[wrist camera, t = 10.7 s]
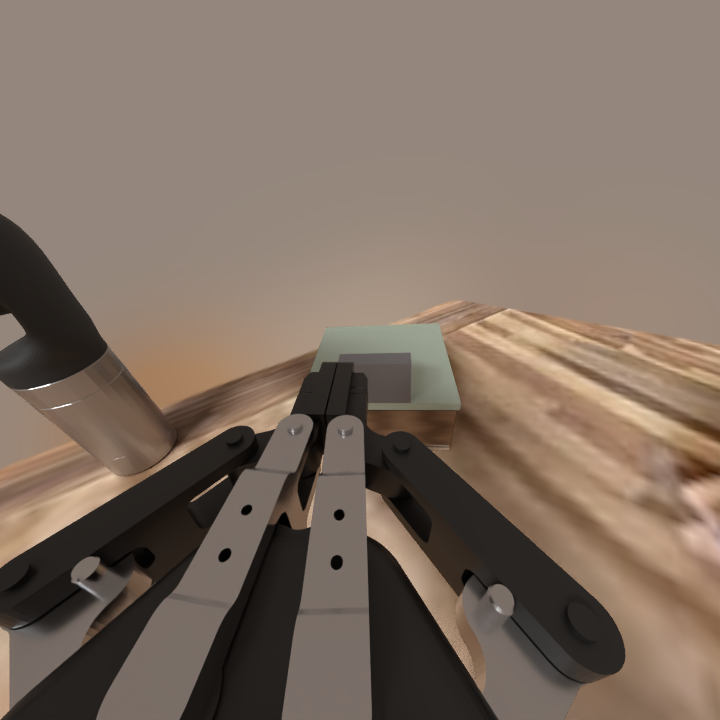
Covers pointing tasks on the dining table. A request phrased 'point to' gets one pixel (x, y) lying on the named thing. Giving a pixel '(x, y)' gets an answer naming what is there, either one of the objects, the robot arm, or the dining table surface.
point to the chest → (416, 425)
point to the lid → (395, 364)
